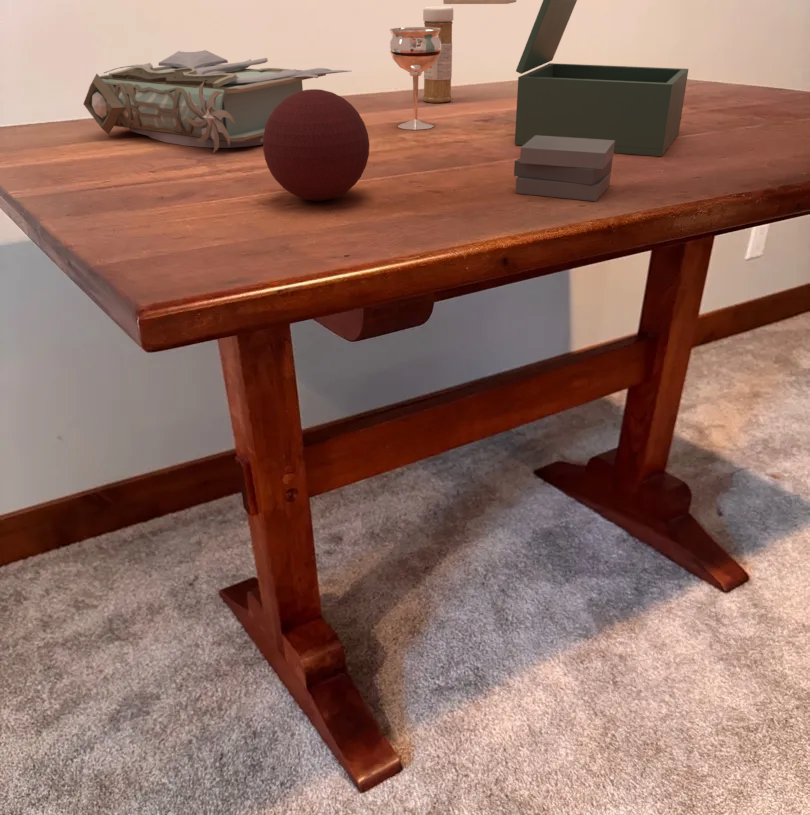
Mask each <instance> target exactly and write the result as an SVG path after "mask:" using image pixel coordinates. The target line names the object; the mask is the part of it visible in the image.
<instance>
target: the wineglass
mask: <svg viewBox="0 0 810 815" xmlns="http://www.w3.org/2000/svg"><path fill="white" fill-rule="evenodd" d="M440 30H441V29H440V28H432V27H425V26H413V27H412V26H405V27H395V28H390V29H389V32H390V34H391V40H390V42H389V52H390V57H391V58H392V60H393V61H394V62H395V64H396V65H397V66H398V67H399V68H400V69H403V70H404V71H406V72H408V73H409V76H410V77H412V91H413V93H412V94H413V115H414V119H412V120H409V121H406V122H403V123H401V124H398V125H397V127H398V128H399V129H403V130H414V131H415V130H429V129H431V128H433V127H435V125H434V124H432V123H430V122H427V121H423V120H420V119H418V111H419V110H418V106H419V81H420V80H419V77H421V76H422V74H423V73H424V71H425V70H426V69H428V68H430V67H431V66H432V65H433V64H434V63H435V61H436V60H437V59H438V58H439V55H440V52H441V41H440V39H439V37H438V34H439V32H440Z"/></svg>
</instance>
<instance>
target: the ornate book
mask: <svg viewBox="0 0 810 815" xmlns="http://www.w3.org/2000/svg"><path fill="white" fill-rule="evenodd" d="M268 62H269V61H268V57H264V58H259V59H253V60H251V58H250V59H247V60H245V61H240V62H232V63H229V61H228V59H226V58H224V57H222V56H219V55H218V54H215V53H213V52H210V51H208V50H207V49H204V50H199V51H180V50H178V51H176V52H175V53H173V54H171V55H169V56H168V57H166V58H164V59H163V60H161V61H159V62H158V67H154V66H153V64H152V63H151V62H148V63H144V64H132V65H126V66H121V67H115V68H112V69H110V70H107V71H105V72H103V75H99V73H96V74H95V75H94V77H93V79H92V81H91V83H90V85H89V87H88V91H87V93H86V96H85V98H84V101H83V106H84V107H85V108H86V110H87V111H88V113H89V114H90V115H91V116H92V118H93V119H94V120H95V122H96V123H97V124H98V125H99V127H100V128H101V129H102V130H103V131H104V132H105V133H106V134H107V135H109V134H111V132H112V130H113V128H114V127H116V128H117V127H119V128H125V129H129V130H130V131H131V132H132V133H136V134H139V135H140V134H141V135H144V136H147V137H149V138H151V139H153V140H156V141H160V142H163V143H166V144H167V143H168V144H173V145H179V146H186V147H198V148H199V147H200V148H213V151H212V154H214V153H216V152H217V151H218V149H219V148H224V149H225V148H229V149H230V148H243V147H253V146H260V145H263V136H264V130H265V126H266V123H267V121H268V119H269V116H270V115H271V113H272V112H273V110H274V109H275V107H277V106H278V105H279V104H280V103H281V102H282V101H283V100H284V99H285V98H287V97H289V96H290V95H292V94H294V93H297V92H300V91H303V90H304V88H303V81H305V80H311V79H318V78H320V77H323V76H324V77H325V76H327V75H329V74H339V73H351V70H343V69H330V68H325V67H317V68H311V69H310V68H309V69H304V70H303V69H290V68H280V67H279V68H278V67H263V68H249V67H250V66H257V65H262V64H266V63H268ZM124 68H125V69H124ZM119 69H120V70H119ZM116 70H117V71H116ZM113 71H114V72H113ZM107 73H108V74H107Z"/></svg>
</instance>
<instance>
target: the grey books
mask: <svg viewBox="0 0 810 815" xmlns="http://www.w3.org/2000/svg"><path fill="white" fill-rule="evenodd" d="M614 146H615V140H603V139H587V138H571V137H555V136H539V135H535V136H534V137H533V138H532V139H530V140H529V141H528V142H527V143H526V144H524V145H523V146H520V154H519V158H517V159H516V160H514V167H513V176H514V177H515V194H519V195H528V196H529V195H530V196H538V197H549V198H559V199H566V200H567V199H569V200H578V201H589V202H598V200H599V198H601V197H602V195H603V194H604V193H605V192H606V191H607V190H608V188H609V187H610V182H611V174H612V167H613V166H612V165H613V158H614V154H615V153H614Z"/></svg>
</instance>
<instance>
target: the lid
mask: <svg viewBox="0 0 810 815" xmlns="http://www.w3.org/2000/svg"><path fill="white" fill-rule="evenodd" d="M577 2H578V0H542V2H541V5H540V7H539V9H538V13H537V15H536V18H535V20H534V23H533V25H532V27H531V31H530V33H529V35H528V38H527V41H526V43H525V45H524V46H525V47H524V49H523V51H522V54H521V56H520V59H519V62H518V64H517V66H516V69H515V72H516V73H519V74H520V75H523V74H526V73H528V72H530V71H532V70H535V69H537V68H539V67H542V66H544V65H546V64H549V63H550V62H552V61H553V59H554V58H555V55H556V53H557V50H558V48H559V45H560V43H561V41H562V38H563V35H564V34H565V31H566V28H567V26H568V23H569V21H570V18H571V16H572V14H573V11H574V9H575V7H576V4H577Z"/></svg>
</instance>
